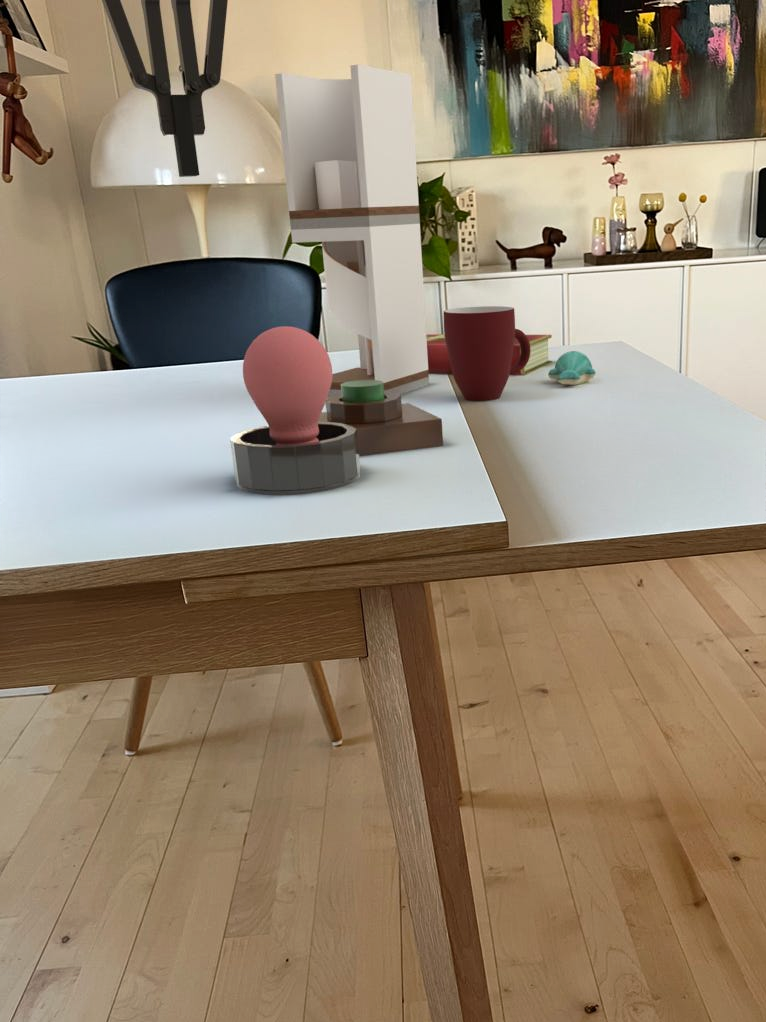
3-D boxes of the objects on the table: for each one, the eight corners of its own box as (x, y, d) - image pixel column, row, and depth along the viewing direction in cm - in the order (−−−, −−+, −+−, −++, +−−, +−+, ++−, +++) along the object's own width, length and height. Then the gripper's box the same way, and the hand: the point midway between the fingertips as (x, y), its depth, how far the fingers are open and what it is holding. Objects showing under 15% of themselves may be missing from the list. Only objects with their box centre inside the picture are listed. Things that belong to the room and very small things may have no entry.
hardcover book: (523, 376, 136) (522, 343, 134) (379, 374, 144) (377, 342, 142) (551, 363, 146) (551, 332, 145) (416, 361, 154) (414, 332, 152)
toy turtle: (599, 379, 131) (599, 348, 130) (591, 389, 125) (591, 356, 123) (553, 380, 132) (552, 349, 131) (543, 389, 126) (542, 357, 124)
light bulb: (256, 469, 90) (238, 325, 86) (339, 462, 91) (325, 319, 87) (255, 488, 84) (235, 333, 79) (344, 481, 85) (330, 328, 80)
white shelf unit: (358, 383, 137) (332, 82, 123) (429, 386, 132) (411, 74, 119) (308, 398, 127) (275, 74, 114) (382, 401, 123) (357, 64, 109)
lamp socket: (248, 503, 82) (242, 452, 80) (228, 476, 90) (222, 430, 89) (374, 486, 85) (370, 437, 83) (343, 462, 94) (338, 417, 92)
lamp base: (317, 462, 94) (312, 412, 92) (294, 443, 102) (289, 396, 101) (443, 447, 98) (440, 398, 96) (410, 429, 106) (407, 384, 105)
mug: (504, 388, 128) (501, 303, 124) (547, 395, 122) (546, 306, 118) (434, 400, 122) (429, 311, 118) (476, 408, 116) (472, 314, 112)
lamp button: (348, 407, 96) (346, 388, 95) (337, 401, 100) (336, 382, 99) (390, 403, 97) (388, 383, 97) (378, 396, 101) (376, 378, 100)
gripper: (219, -118, 92) (253, 175, 101) (63, -127, 88) (112, 180, 97) (233, -144, 85) (267, 171, 94) (64, -155, 81) (117, 176, 90)
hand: (189, 175), depth 95 cm, fingers closed
